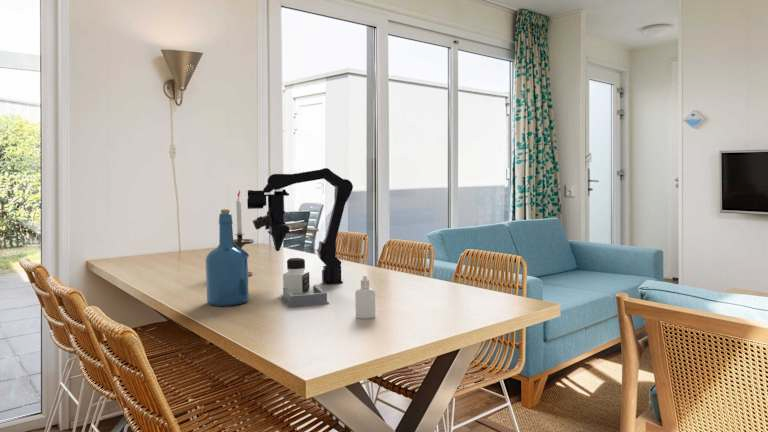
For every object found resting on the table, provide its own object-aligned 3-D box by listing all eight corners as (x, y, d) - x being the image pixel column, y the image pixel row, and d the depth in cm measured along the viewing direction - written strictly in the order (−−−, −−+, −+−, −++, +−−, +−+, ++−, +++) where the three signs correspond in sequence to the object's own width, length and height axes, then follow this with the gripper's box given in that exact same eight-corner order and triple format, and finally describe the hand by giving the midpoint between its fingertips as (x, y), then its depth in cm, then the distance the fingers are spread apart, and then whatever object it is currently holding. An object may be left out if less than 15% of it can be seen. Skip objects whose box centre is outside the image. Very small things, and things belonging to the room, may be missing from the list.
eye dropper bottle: (361, 314, 161) (360, 273, 160) (377, 316, 158) (377, 274, 157) (353, 318, 157) (352, 276, 156) (370, 320, 154) (369, 277, 154)
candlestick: (260, 274, 228) (257, 189, 226) (240, 279, 219) (237, 190, 217) (241, 272, 234) (238, 189, 232) (221, 276, 225) (218, 190, 223)
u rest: (281, 298, 184) (281, 287, 184) (318, 294, 188) (318, 284, 188) (288, 307, 171) (288, 296, 170) (328, 303, 175) (328, 293, 175)
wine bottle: (211, 309, 170) (207, 211, 168) (203, 300, 182) (200, 209, 180) (255, 303, 176) (252, 209, 174) (245, 296, 188) (242, 207, 186)
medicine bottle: (303, 295, 188) (302, 260, 187) (283, 294, 190) (282, 259, 189) (309, 290, 195) (309, 257, 194) (290, 290, 196) (289, 256, 196)
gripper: (250, 207, 209) (252, 248, 210) (256, 210, 192) (258, 255, 193) (280, 206, 213) (281, 247, 214) (289, 209, 195) (290, 253, 196)
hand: (277, 250), depth 204 cm, fingers closed
